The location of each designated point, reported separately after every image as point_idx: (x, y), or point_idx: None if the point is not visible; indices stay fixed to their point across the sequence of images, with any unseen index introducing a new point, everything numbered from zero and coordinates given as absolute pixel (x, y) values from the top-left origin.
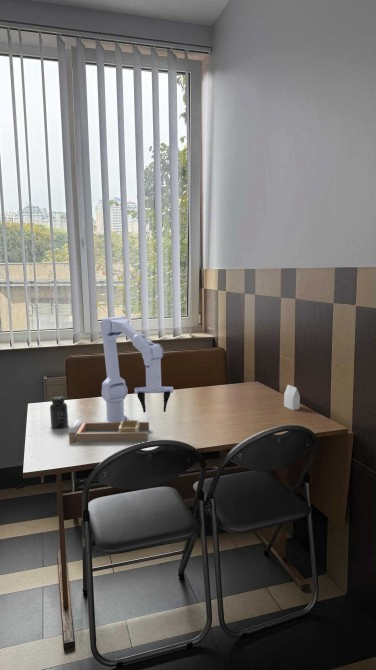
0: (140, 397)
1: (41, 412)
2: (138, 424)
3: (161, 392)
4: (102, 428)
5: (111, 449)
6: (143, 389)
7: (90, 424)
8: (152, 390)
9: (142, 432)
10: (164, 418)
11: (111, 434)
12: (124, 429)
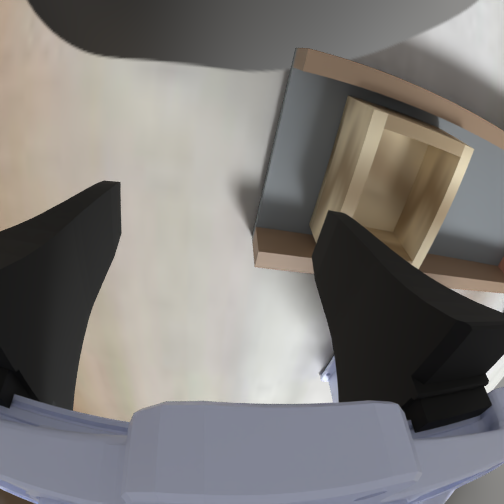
0: (482, 314)
1: (490, 383)
2: (345, 193)
3: (61, 414)
4: (461, 262)
5: (478, 24)
6: (480, 467)
7: (499, 279)
8: (345, 496)
9: (334, 69)
10: (168, 349)
11: (492, 124)
12: (443, 133)
